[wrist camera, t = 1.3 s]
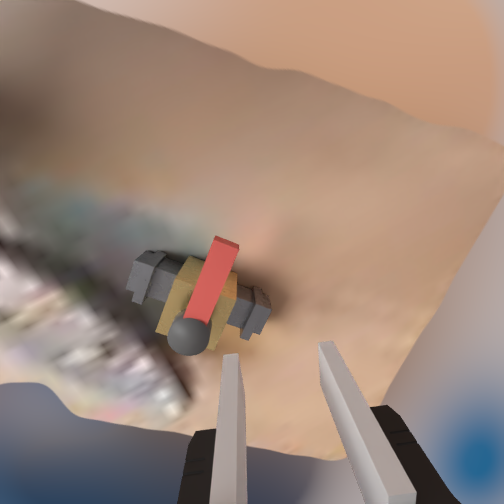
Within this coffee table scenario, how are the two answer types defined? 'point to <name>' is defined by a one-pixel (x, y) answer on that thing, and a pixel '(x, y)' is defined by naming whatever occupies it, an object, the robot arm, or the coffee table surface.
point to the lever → (203, 301)
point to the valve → (181, 289)
